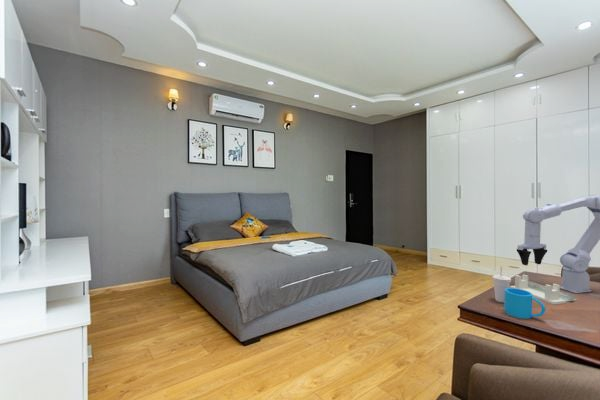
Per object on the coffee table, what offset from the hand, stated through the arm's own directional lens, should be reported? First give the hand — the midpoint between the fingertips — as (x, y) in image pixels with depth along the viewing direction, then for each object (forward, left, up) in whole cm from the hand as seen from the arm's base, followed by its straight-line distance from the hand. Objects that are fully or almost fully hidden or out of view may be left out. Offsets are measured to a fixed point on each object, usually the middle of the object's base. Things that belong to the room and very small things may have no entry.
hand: (531, 264), depth 137 cm
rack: (+9, +10, -10) cm, 17 cm away
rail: (+2, +10, -10) cm, 14 cm away
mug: (+33, +24, -11) cm, 42 cm away
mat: (+2, +10, -10) cm, 14 cm away
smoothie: (+29, +11, -11) cm, 33 cm away
